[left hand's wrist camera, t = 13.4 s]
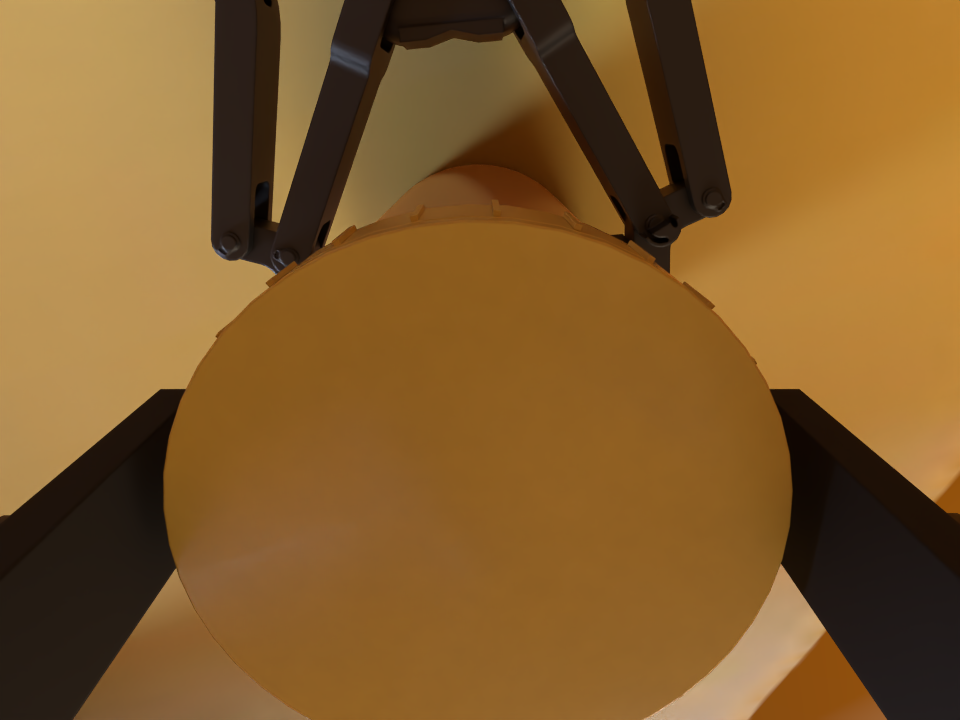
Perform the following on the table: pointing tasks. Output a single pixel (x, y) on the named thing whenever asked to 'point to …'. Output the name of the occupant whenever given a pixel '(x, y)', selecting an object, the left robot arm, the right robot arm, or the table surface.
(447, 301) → the lid
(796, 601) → the table surface
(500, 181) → the jar
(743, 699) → the table surface
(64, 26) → the table surface
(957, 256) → the table surface
